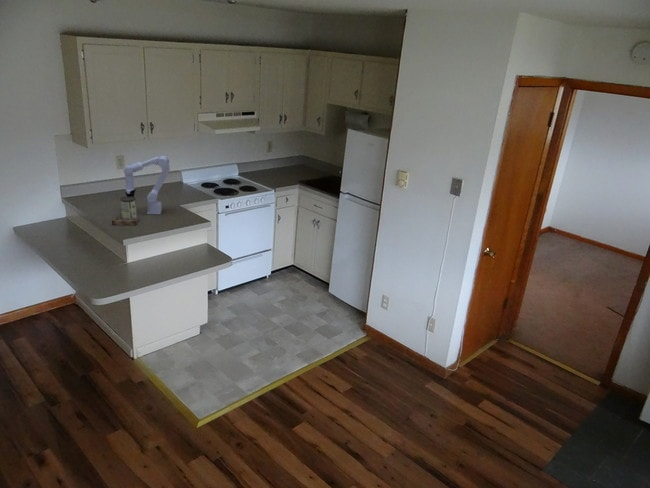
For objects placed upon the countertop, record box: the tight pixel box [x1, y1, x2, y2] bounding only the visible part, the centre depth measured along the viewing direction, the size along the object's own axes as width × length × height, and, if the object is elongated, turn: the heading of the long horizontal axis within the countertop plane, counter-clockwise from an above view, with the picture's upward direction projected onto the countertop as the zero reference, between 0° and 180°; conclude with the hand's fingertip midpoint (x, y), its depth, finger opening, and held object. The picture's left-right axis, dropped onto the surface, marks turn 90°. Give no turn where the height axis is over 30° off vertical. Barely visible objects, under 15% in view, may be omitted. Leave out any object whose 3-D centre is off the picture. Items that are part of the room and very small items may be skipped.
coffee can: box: [119, 195, 138, 220], centre depth 356 cm, size 10×10×14 cm
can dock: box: [111, 215, 140, 226], centre depth 347 cm, size 16×10×3 cm, turn 99°
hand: (131, 200), depth 364 cm, fingers open, 5 cm apart
